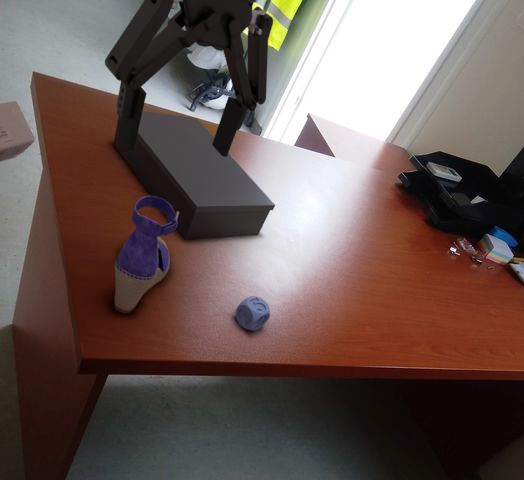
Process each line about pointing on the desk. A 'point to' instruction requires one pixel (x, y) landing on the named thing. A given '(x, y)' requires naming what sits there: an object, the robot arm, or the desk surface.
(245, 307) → the decorative dice
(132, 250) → the sandal
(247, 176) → the shoebox
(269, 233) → the desk surface
